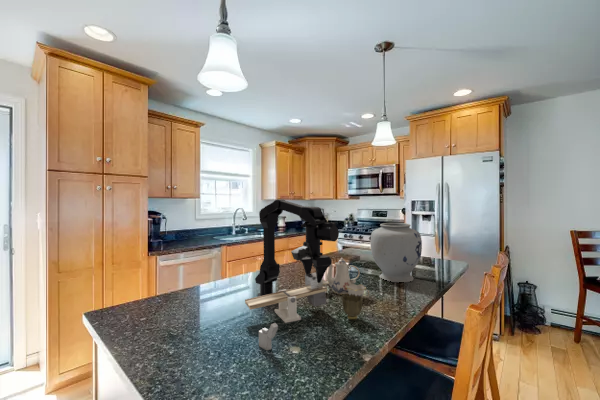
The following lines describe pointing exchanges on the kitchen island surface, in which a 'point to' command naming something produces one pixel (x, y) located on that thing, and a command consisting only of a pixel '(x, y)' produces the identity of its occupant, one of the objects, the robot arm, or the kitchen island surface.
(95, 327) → the kitchen island surface
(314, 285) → the steel block
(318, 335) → the kitchen island surface
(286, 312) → the pivot stand
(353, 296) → the cup
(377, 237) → the apothecary jar
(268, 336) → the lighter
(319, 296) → the beam
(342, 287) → the chinaware
